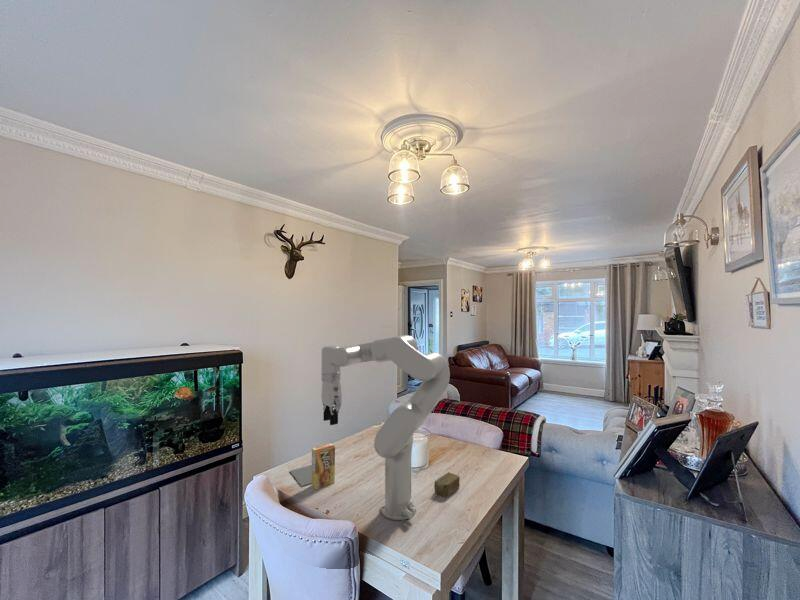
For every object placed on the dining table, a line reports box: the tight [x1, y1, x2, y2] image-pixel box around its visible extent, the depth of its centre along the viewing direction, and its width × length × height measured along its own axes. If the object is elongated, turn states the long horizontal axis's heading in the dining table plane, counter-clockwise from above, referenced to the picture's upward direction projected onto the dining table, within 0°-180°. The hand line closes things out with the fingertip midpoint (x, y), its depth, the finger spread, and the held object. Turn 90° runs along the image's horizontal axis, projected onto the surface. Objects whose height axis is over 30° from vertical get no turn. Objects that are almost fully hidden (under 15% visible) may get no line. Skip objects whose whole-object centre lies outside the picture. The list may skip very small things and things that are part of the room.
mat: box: [289, 464, 312, 487], centre depth 147 cm, size 16×14×1 cm
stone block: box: [433, 471, 460, 498], centre depth 134 cm, size 6×12×5 cm, turn 140°
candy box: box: [310, 442, 336, 490], centre depth 139 cm, size 9×4×15 cm, turn 129°
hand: (330, 421), depth 134 cm, fingers open, 5 cm apart
